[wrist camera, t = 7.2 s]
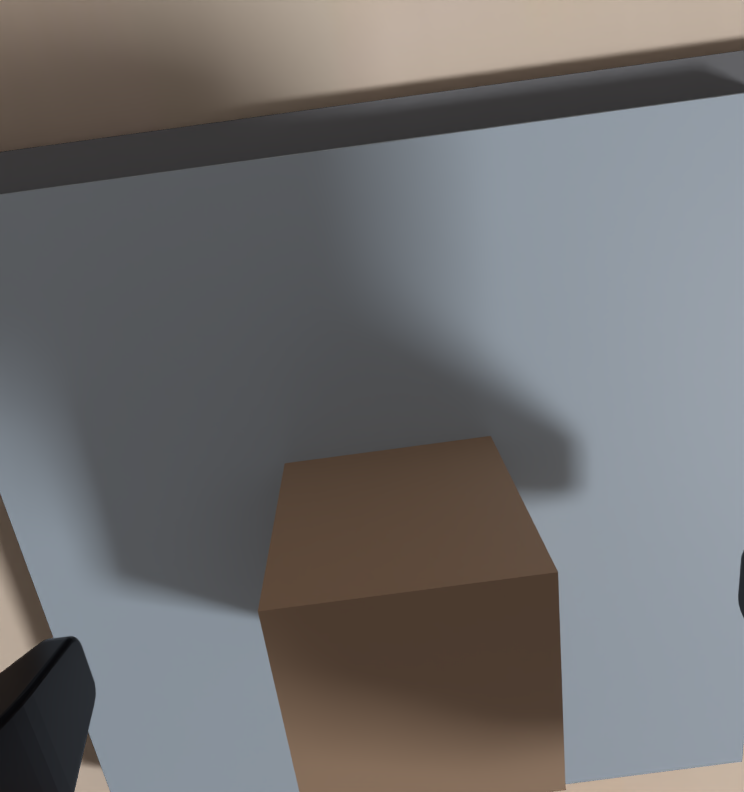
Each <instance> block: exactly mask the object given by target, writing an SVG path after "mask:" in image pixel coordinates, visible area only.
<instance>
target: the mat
mask: <svg viewBox="0 0 744 792" xmlns="http://www.w3.org/2000/svg"><path fill="white" fill-rule="evenodd" d="M737 93H744V50H743V51H736V52H728V53H721V54H714V55H706V56H699V57H692V58H684V59H677V60H670V61H662V62H655V63H648V64H640V65H633V66H626V67H619V68H611V69H604V70H597V71H589V72H582V73H575V74H567V75H560V76H553V77H545V78H538V79H531V80H523V81H516V82H509V83H501V84H494V85H487V86H480V87H472V88H465V89H458V90H450V91H443V92H436V93H428V94H421V95H414V96H406V97H399V98H392V99H384V100H377V101H370V102H363V103H355V104H348V105H341V106H333V107H326V108H319V109H311V110H304V111H297V112H289V113H282V114H275V115H267V116H260V117H253V118H246V119H238V120H231V121H224V122H216V123H209V124H202V125H194V126H187V127H180V128H172V129H165V130H158V131H150V132H143V133H136V134H129V135H121V136H114V137H107V138H99V139H92V140H85V141H77V142H70V143H63V144H55V145H48V146H41V147H33V148H26V149H19V150H12V151H4V152H0V194H6V193H13V192H20V191H27V190H35V189H42V188H49V187H57V186H64V185H71V184H79V183H86V182H93V181H101V180H108V179H115V178H122V177H130V176H137V175H144V174H152V173H159V172H166V171H174V170H181V169H188V168H196V167H203V166H210V165H218V164H225V163H232V162H239V161H247V160H254V159H261V158H269V157H276V156H283V155H291V154H298V153H305V152H313V151H320V150H327V149H334V148H342V147H349V146H356V145H364V144H371V143H378V142H386V141H393V140H400V139H408V138H415V137H422V136H430V135H437V134H444V133H451V132H459V131H466V130H473V129H481V128H488V127H495V126H503V125H510V124H517V123H525V122H532V121H539V120H546V119H554V118H561V117H568V116H576V115H583V114H590V113H598V112H605V111H612V110H620V109H627V108H634V107H641V106H649V105H656V104H663V103H671V102H678V101H685V100H693V99H700V98H707V97H715V96H722V95H729V94H737Z"/></svg>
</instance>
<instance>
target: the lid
mask: <svg viewBox="0 0 744 792" xmlns="http://www.w3.org/2000/svg"><path fill="white" fill-rule="evenodd" d="M0 494H1V497H2V500H3V502H4V505H5V508H6V510H7V513H8V516H9V519H10V521H11V524H12V527H13V529H14V532H15V535H16V538H17V540H18V543H19V546H20V548H21V551H22V554H23V556H24V559H25V562H26V565H27V567H28V570H29V573H30V575H31V578H32V581H33V584H34V586H35V589H36V592H37V594H38V597H39V600H40V603H41V605H42V608H43V611H44V613H45V616H46V619H47V621H48V624H49V627H50V630H51V632H52V635H53V638H59V637H66V636H74V637H76V638H77V639H78V640H79V641H80V643H81V645H82V647H83V650H84V653H85V656H86V659H87V661H88V664H89V667H90V670H91V673H92V676H93V678H94V682H95V687H96V698H95V704H94V708H93V713H92V717H91V721H90V726H89V730H88V732H89V735H90V738H91V741H92V743H93V746H94V749H95V751H96V754H97V757H98V760H99V762H100V765H101V768H102V770H103V773H104V776H105V778H106V781H107V784H108V787H109V789H110V792H553V791H561V790H566V786H565V784H571V783H578V782H586V781H594V780H602V779H610V778H617V777H625V776H633V775H641V774H649V773H656V772H664V771H672V770H680V769H687V768H695V767H703V766H711V765H719V764H726V763H734V762H742V755H743V744H744V618H743V616H742V613H741V611H740V607H739V603H738V589H739V577H740V564H741V556H742V553H743V551H744V93H737V94H729V95H722V96H715V97H707V98H700V99H693V100H685V101H678V102H671V103H663V104H656V105H649V106H641V107H634V108H627V109H620V110H612V111H605V112H598V113H590V114H583V115H576V116H568V117H561V118H554V119H546V120H539V121H532V122H525V123H517V124H510V125H503V126H495V127H488V128H481V129H473V130H466V131H459V132H451V133H444V134H437V135H430V136H422V137H415V138H408V139H400V140H393V141H386V142H378V143H371V144H364V145H356V146H349V147H342V148H334V149H327V150H320V151H313V152H305V153H298V154H291V155H283V156H276V157H269V158H261V159H254V160H247V161H239V162H232V163H225V164H218V165H210V166H203V167H196V168H188V169H181V170H174V171H166V172H159V173H152V174H144V175H137V176H130V177H122V178H115V179H108V180H101V181H93V182H86V183H79V184H71V185H64V186H57V187H49V188H42V189H35V190H27V191H20V192H13V193H6V194H0Z"/></svg>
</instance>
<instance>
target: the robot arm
mask: <svg viewBox="0 0 744 792" xmlns="http://www.w3.org/2000/svg"><path fill="white" fill-rule="evenodd" d="M738 603H739V607H740V611H741V613H742V616H743V618H744V551H743V553H742V556H741V564H740V577H739V589H738ZM95 698H96V687H95V682H94V678H93V676H92V673H91V670H90V667H89V664H88V661H87V659H86V656H85V653H84V650H83V647H82V645H81V643H80V641H79V640H78V639H77V638H76V637H74V636H66V637H59V638H51V639H46V640H44V641H42V642H40V643H39V644H38V645H36V646H35V647H34V648H33V649H31V650H30V651H29V652H27V653H26V654H25V655H23V656H22V657H21V658H19V659H18V660H17V661H15V662H14V663H13V664H12V665H10V666H9V667H8V668H6V669H5V670H4V671H2V672H1V673H0V792H74V791H75V786H76V782H77V778H78V773H79V769H80V765H81V760H82V756H83V752H84V747H85V743H86V739H87V734H88V730H89V726H90V721H91V717H92V713H93V708H94V704H95Z"/></svg>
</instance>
